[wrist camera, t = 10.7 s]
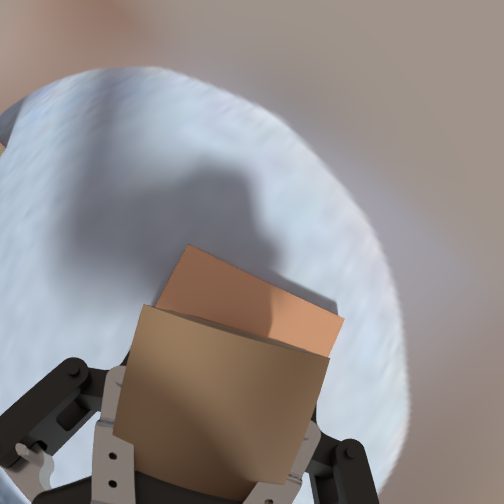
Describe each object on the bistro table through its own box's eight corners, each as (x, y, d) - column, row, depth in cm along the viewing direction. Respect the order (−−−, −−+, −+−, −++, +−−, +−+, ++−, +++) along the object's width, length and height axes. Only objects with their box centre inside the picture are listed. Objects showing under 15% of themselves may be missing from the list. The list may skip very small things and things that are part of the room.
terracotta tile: (122, 387, 17) (116, 390, 16) (191, 248, 20) (188, 243, 19) (267, 457, 16) (268, 464, 15) (338, 319, 19) (344, 318, 18)
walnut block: (177, 390, 15) (108, 457, 5) (198, 316, 16) (143, 304, 7) (254, 412, 15) (273, 505, 5) (277, 339, 16) (330, 357, 6)
